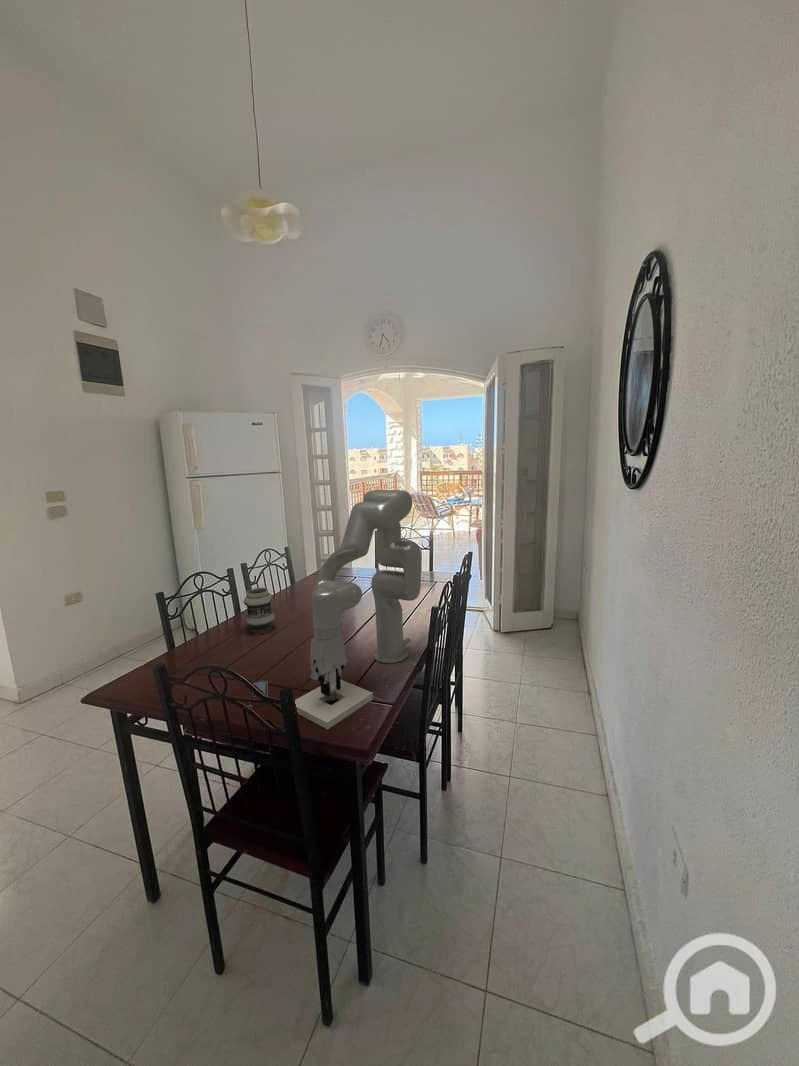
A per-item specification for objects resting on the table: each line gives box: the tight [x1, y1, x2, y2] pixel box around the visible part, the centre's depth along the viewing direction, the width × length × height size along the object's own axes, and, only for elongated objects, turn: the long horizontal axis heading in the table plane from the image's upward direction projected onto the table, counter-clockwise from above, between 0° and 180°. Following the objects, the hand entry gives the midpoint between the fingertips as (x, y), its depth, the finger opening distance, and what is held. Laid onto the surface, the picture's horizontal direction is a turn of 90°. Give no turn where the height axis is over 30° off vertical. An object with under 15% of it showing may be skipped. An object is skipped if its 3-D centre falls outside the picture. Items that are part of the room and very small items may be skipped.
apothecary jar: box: [243, 587, 276, 636], centre depth 182 cm, size 12×12×18 cm
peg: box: [325, 664, 338, 702], centre depth 124 cm, size 5×5×11 cm
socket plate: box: [294, 678, 374, 730], centre depth 125 cm, size 18×16×2 cm
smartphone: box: [248, 679, 269, 708], centre depth 133 cm, size 7×1×15 cm
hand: (331, 690), depth 125 cm, fingers closed on peg, 3 cm apart
